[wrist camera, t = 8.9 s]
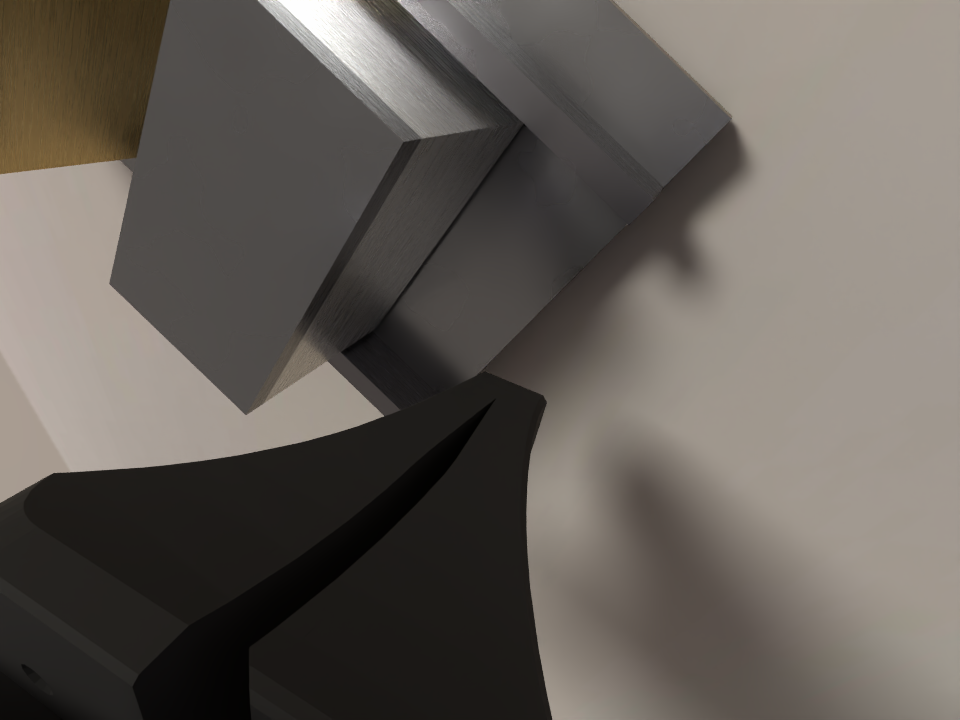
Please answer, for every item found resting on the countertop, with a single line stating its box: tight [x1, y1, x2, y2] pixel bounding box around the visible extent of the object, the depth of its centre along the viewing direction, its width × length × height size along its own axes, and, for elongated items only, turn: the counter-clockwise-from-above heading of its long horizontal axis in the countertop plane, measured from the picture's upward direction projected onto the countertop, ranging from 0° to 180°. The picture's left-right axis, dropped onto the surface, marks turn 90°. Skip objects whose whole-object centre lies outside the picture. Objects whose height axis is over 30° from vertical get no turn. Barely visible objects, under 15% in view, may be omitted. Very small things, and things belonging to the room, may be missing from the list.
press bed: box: [121, 0, 732, 416], centre depth 11 cm, size 20×12×6 cm, turn 52°
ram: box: [109, 0, 524, 415], centre depth 11 cm, size 4×7×5 cm, turn 142°
